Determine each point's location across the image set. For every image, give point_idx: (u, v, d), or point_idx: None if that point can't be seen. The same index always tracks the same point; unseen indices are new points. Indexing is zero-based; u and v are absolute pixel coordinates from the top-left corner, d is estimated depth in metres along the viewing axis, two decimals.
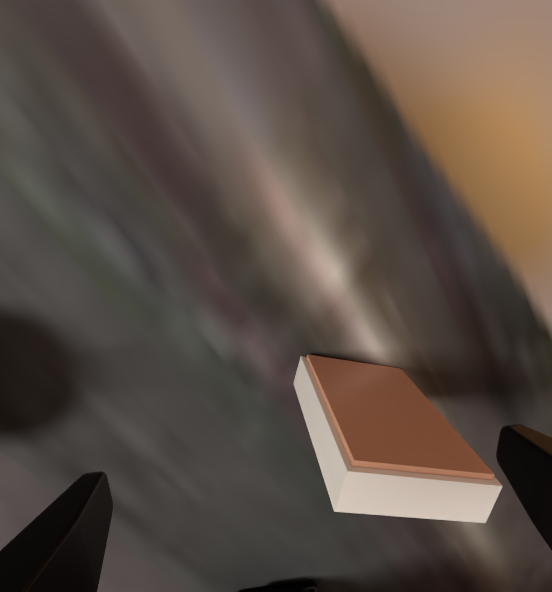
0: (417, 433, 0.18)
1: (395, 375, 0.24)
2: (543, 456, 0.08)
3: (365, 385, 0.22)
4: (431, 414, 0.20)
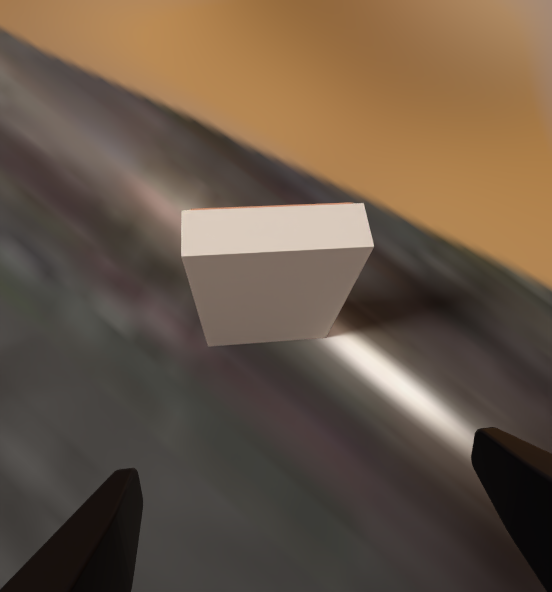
0: None
1: None
2: (514, 460, 0.08)
3: None
4: None
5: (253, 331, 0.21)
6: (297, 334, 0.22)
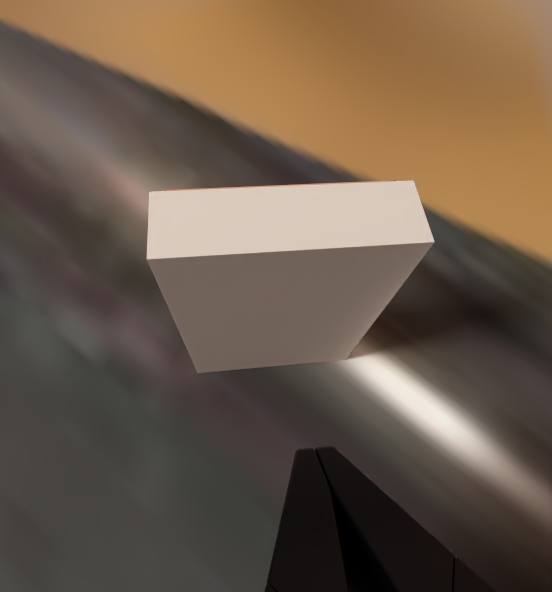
0: None
1: None
2: (328, 483, 0.07)
3: None
4: None
5: (255, 355, 0.16)
6: (310, 357, 0.18)
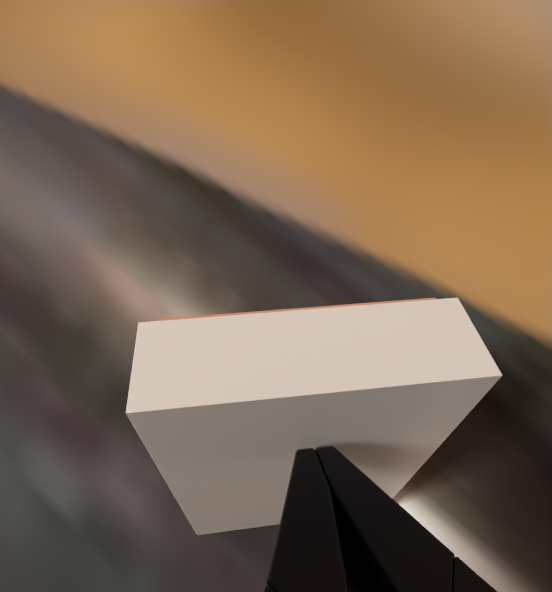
0: None
1: None
2: (328, 483, 0.07)
3: None
4: None
5: (269, 512, 0.13)
6: None
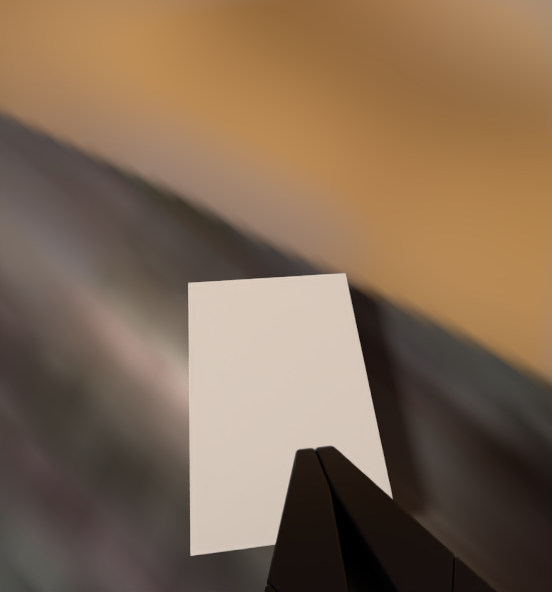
0: None
1: None
2: (328, 483, 0.07)
3: None
4: None
5: (265, 479, 0.14)
6: None
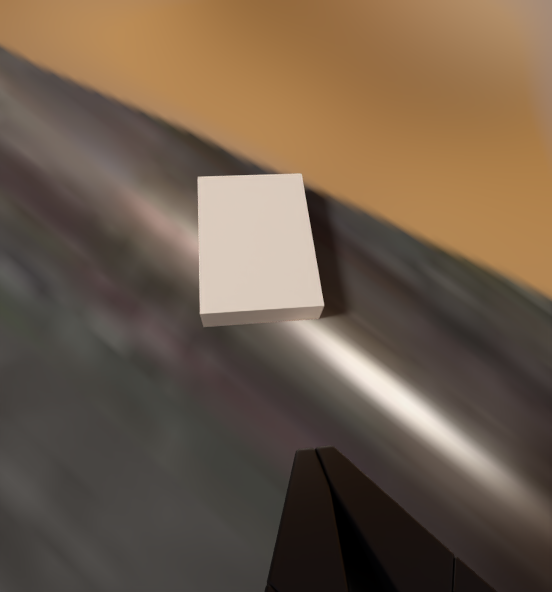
0: None
1: None
2: (328, 483, 0.07)
3: None
4: None
5: (245, 280, 0.23)
6: (290, 293, 0.22)
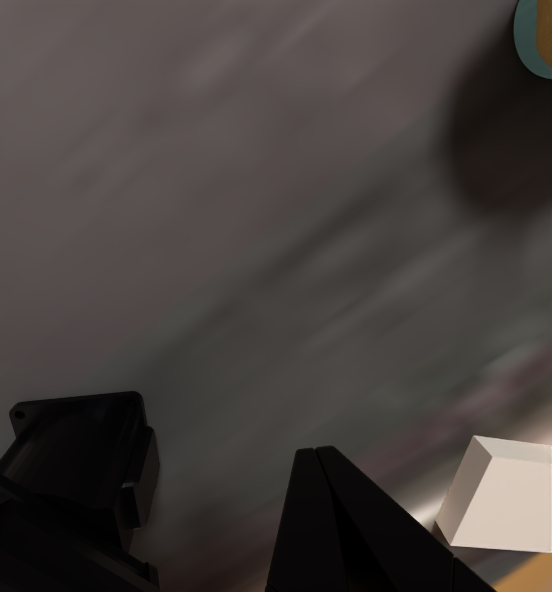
0: None
1: None
2: (328, 483, 0.07)
3: None
4: None
5: (503, 494, 0.24)
6: (473, 524, 0.25)
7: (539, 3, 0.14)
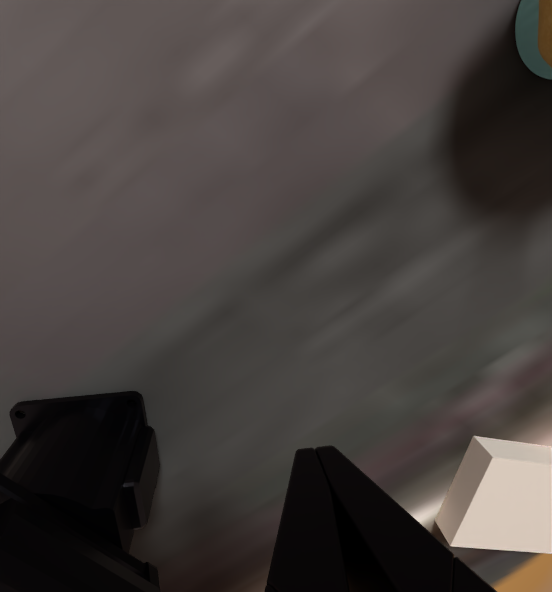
0: None
1: None
2: (328, 482, 0.07)
3: None
4: None
5: (503, 495, 0.24)
6: (473, 525, 0.25)
7: (541, 4, 0.14)
